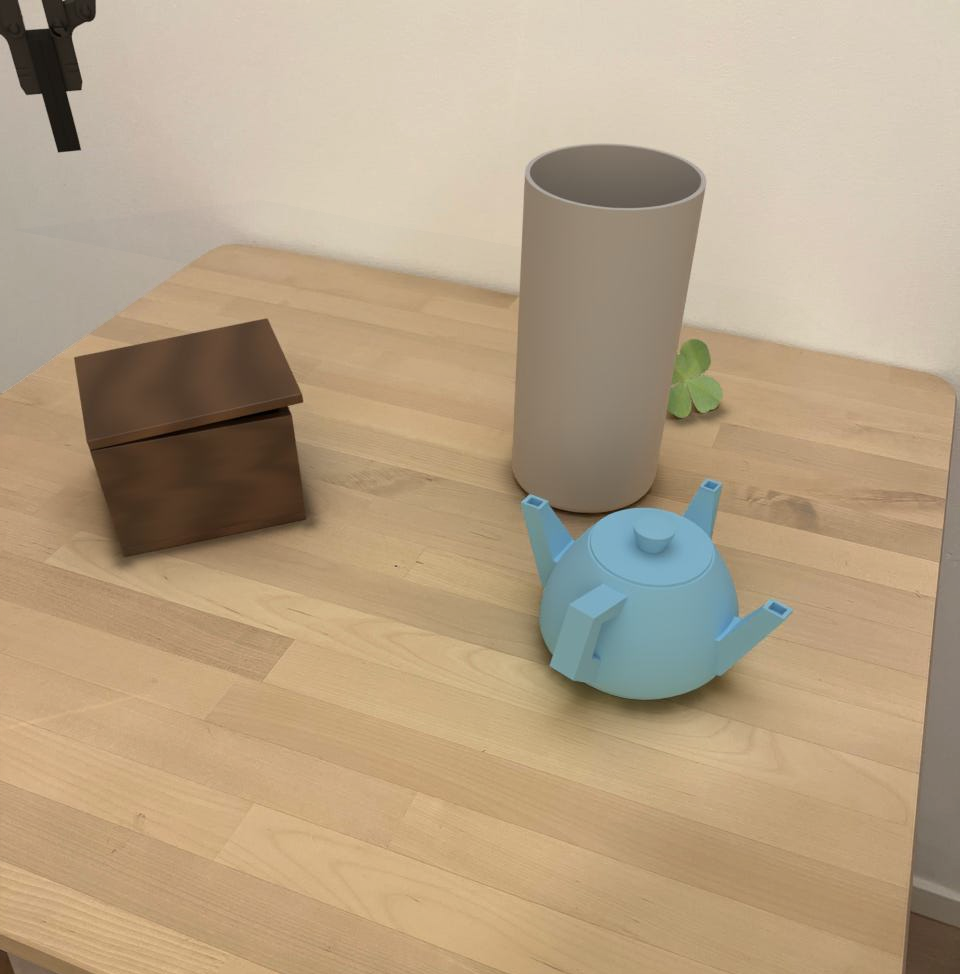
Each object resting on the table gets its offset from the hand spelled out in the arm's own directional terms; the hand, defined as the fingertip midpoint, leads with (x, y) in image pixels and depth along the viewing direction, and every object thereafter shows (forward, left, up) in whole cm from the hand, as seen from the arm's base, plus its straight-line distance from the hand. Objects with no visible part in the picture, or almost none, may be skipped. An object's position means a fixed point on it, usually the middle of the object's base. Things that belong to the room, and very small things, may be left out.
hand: (68, 144), depth 65 cm
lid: (+5, +4, -16) cm, 17 cm away
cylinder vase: (+13, +35, -27) cm, 46 cm away
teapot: (+33, +30, -27) cm, 52 cm away
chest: (+5, +4, -26) cm, 27 cm away
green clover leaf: (+5, +49, -27) cm, 56 cm away
